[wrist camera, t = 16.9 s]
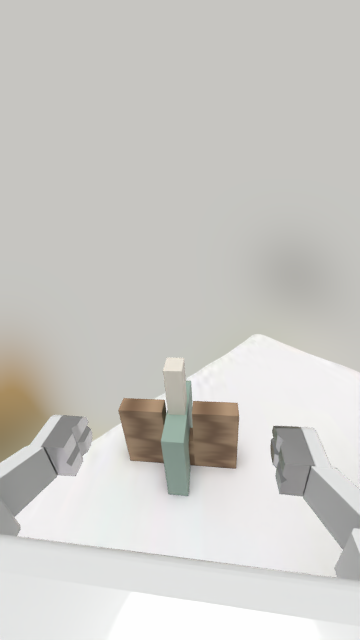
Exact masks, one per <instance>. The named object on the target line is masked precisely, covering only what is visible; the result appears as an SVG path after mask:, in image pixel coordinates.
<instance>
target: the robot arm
mask: <svg viewBox="0 0 360 640" xmlns="http://www.w3.org/2000/svg"><path fill="white" fill-rule="evenodd" d="M87 424H88V420H87V418H86V417H79V416H67V415H53V416H51V417H50V418H49V420H48V421H47V422H46V424H45V425H44V427H43V428H42V429H41V431H40V432H39V433H38V435H37V436H36V437H35V439H34V440H33V442H32V443H31V444H30V446H25V447H24V448H22V449H21V450H19V451H18V452H16V453H15V454H14V455H12V456H10V457H9V458H7V459H6V460H4V461H3V462H1V463H0V640H360V489H359V488H358V487H357V486H356V485H354V484H353V483H352V482H351V481H350V480H349V479H348V478H347V477H346V476H344V475H343V474H342V473H341V472H340V471H339V470H338V469H337V468H332V466H331V464H330V462H329V460H328V457H327V455H326V453H325V450H324V448H323V446H322V444H321V441H320V439H319V437H318V434H317V432H316V430H315V429H314V428H309V427H292V426H274V427H273V430H272V433H273V437H274V438H273V439H271V457H272V462H273V465H274V466H275V467H276V468H277V469H276V481H277V485H278V489H279V494H285V495H294V496H303V498H304V500H305V501H306V502H307V503H308V505H309V506H310V507H311V509H312V510H313V511H314V513H315V514H316V515H317V517H318V518H319V519H320V520H321V522H322V523H323V524H324V526H325V527H326V528H327V530H328V531H329V532H330V533H331V535H332V536H333V537H334V539H335V540H336V541H337V543H338V544H339V545H340V546H341V548H342V549H343V551H342V554H341V556H340V558H339V560H338V562H337V564H336V566H335V571H336V574H337V578H336V577H329V576H321V575H313V574H305V573H298V572H290V571H282V570H274V569H267V568H259V567H251V566H244V565H236V564H228V563H220V562H213V561H205V560H197V559H189V558H182V557H174V556H166V555H158V554H151V553H143V552H135V551H128V550H120V549H112V548H104V547H97V546H89V545H81V544H73V543H66V542H58V541H50V540H42V539H34V538H27V537H19V536H17V535H18V533H19V531H20V524H19V523H18V522H17V520H16V519H15V516H16V515H17V514H18V513H19V512H20V511H21V510H22V509H23V508H24V507H25V506H27V505H28V504H29V503H30V502H31V501H32V500H33V499H34V498H35V497H36V496H37V495H38V494H39V493H40V492H41V491H42V490H43V489H44V488H45V487H47V486H48V485H49V484H50V483H51V482H52V481H53V480H54V479H55V478H56V477H57V475H64V476H76V475H77V472H78V470H79V468H80V466H81V464H82V462H83V457H82V456H83V455H84V454H85V453H87V452H88V450H89V448H90V446H91V442H92V431H91V429H90V428H89V427H88V426H87Z"/></svg>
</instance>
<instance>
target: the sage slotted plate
mask: <svg viewBox="0 0 360 640" xmlns="http://www.w3.org/2000/svg"><path fill="white" fill-rule="evenodd" d="M163 375H164V384H165V392H166V400H167V408H168V410H167V415H166V419H165V424H164V429H163V433H162V438H161V446H162V453H163V460H164V466H165V473H166V480H167V486H168V493H169V494H173V495H184V496H188V492H189V480H190V458H189V445H188V444H189V434H190V428H193V424H192V390H191V381H186V378H185V364H184V358H167V359H166V362H165V366H164V369H163Z"/></svg>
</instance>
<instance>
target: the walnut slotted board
mask: <svg viewBox="0 0 360 640" xmlns="http://www.w3.org/2000/svg"><path fill="white" fill-rule="evenodd" d="M119 414H120V419H121V423H122V427H123V431H124V435H125V439H126V444H127V448H128V452H129V456H130V460H133V461H146V462H159V463H164V460H163V453H162V446H161V438H162V433H163V429H164V424H165V419H166V407H165V400H154V399H127V398H124V399H123V401H122V403H121V406H120V408H119ZM192 424H193V428H190V434H189V444H188V445H189V458H190V465H198V466H211V467H223V468H236V460H237V443H238V425H239V411H238V403H227V402H202V401H193V407H192Z"/></svg>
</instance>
